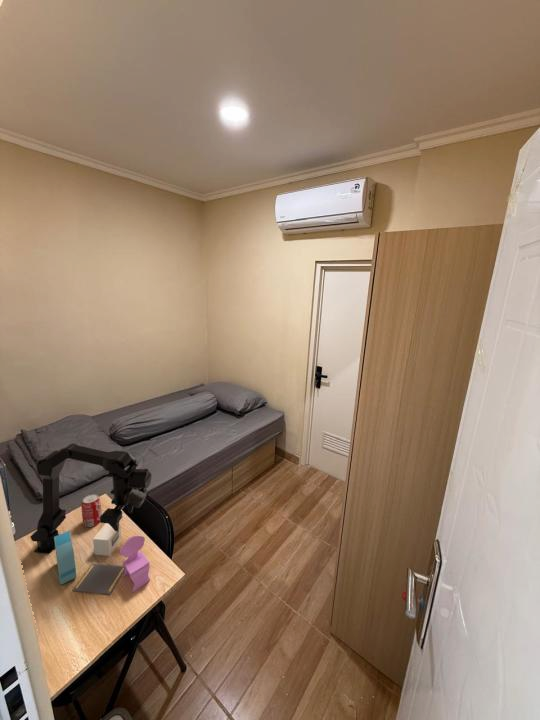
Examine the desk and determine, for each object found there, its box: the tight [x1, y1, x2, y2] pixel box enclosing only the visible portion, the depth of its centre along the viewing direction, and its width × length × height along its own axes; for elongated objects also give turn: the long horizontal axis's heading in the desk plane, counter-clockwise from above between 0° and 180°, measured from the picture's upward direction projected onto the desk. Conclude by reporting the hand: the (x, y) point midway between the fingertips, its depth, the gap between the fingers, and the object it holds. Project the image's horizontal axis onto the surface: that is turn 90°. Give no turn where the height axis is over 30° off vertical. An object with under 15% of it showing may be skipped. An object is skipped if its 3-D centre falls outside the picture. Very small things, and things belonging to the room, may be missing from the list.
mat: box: [71, 562, 125, 596], centre depth 99 cm, size 13×10×1 cm
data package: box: [54, 530, 77, 586], centre depth 101 cm, size 12×4×12 cm, turn 41°
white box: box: [92, 523, 122, 557], centre depth 112 cm, size 6×8×7 cm
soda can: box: [80, 493, 103, 528], centre depth 123 cm, size 7×7×12 cm
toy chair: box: [119, 535, 151, 593], centre depth 99 cm, size 8×9×15 cm
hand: (123, 521), depth 110 cm, fingers open, 9 cm apart
